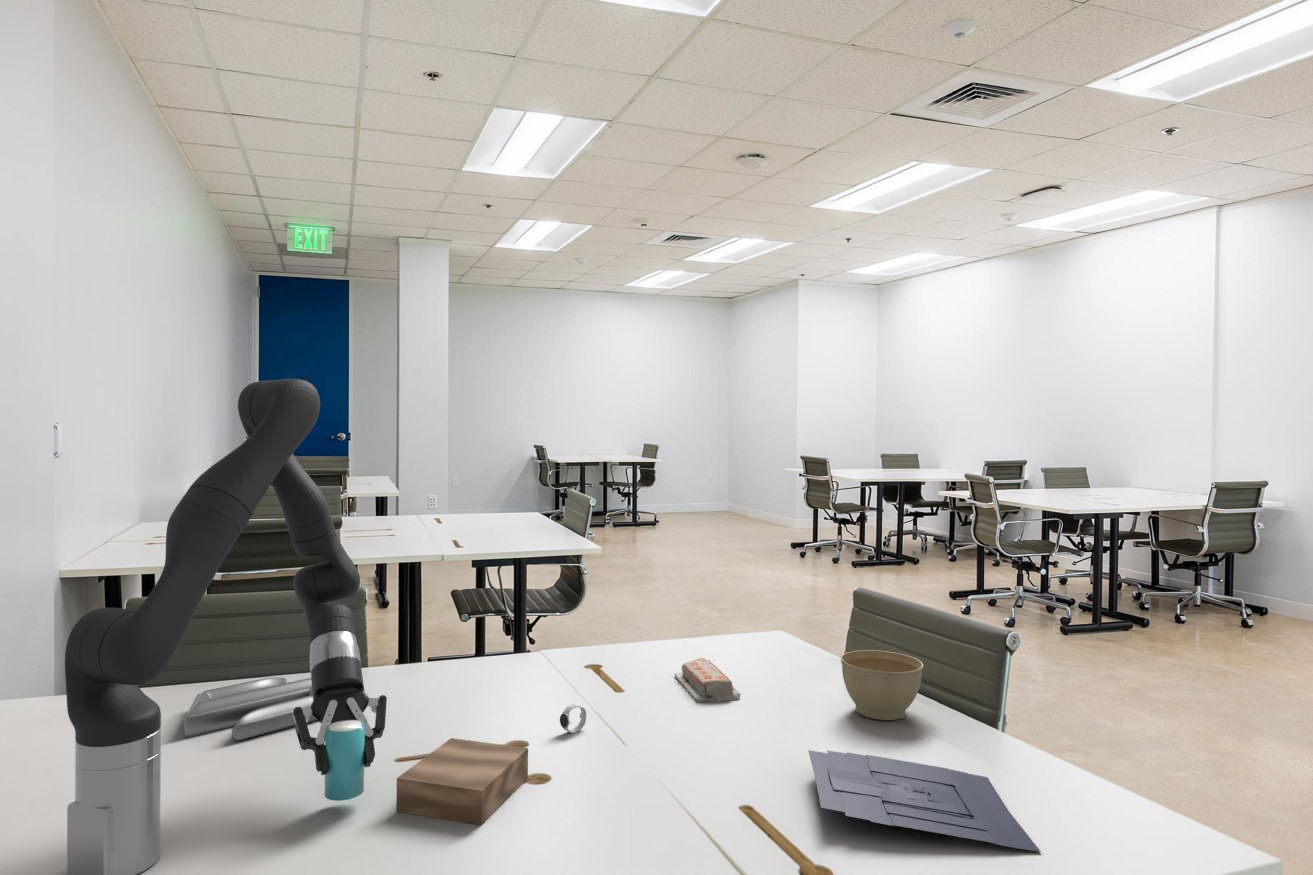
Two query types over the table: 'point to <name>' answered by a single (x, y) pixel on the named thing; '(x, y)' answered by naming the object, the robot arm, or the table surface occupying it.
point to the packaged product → (706, 681)
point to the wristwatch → (565, 721)
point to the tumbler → (345, 759)
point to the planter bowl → (881, 682)
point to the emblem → (248, 707)
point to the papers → (916, 797)
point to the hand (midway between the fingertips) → (346, 768)
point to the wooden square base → (462, 781)
